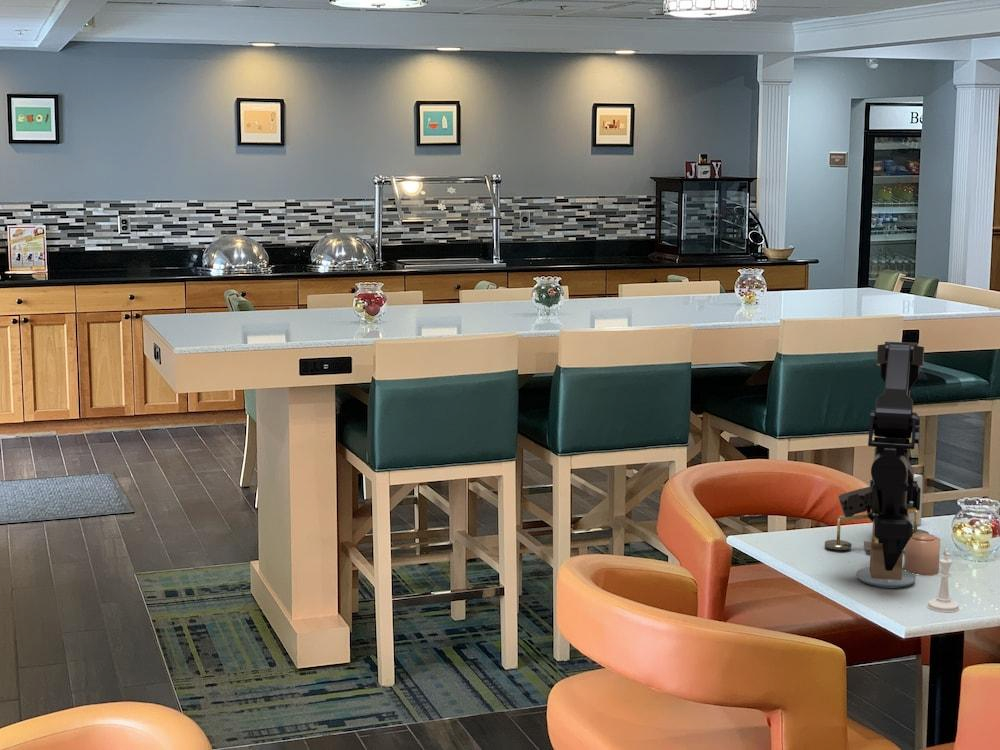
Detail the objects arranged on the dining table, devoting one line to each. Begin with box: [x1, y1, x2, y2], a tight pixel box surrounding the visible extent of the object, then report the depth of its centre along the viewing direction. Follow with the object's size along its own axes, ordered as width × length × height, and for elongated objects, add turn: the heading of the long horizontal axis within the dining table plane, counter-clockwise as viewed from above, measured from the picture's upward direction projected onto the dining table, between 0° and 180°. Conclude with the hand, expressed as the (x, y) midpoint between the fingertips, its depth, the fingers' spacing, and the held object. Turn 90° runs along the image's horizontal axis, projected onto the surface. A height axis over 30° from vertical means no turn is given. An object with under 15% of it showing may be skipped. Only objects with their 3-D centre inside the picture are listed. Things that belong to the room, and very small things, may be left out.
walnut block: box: [869, 543, 904, 580], centre depth 228 cm, size 5×5×5 cm
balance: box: [824, 507, 930, 556], centre depth 246 cm, size 6×19×9 cm, turn 79°
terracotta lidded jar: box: [903, 533, 941, 576], centre depth 234 cm, size 6×6×6 cm
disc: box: [855, 566, 916, 589], centre depth 228 cm, size 10×10×1 cm
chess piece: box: [927, 548, 960, 613], centre depth 213 cm, size 5×5×10 cm
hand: (886, 562), depth 228 cm, fingers open, 9 cm apart
